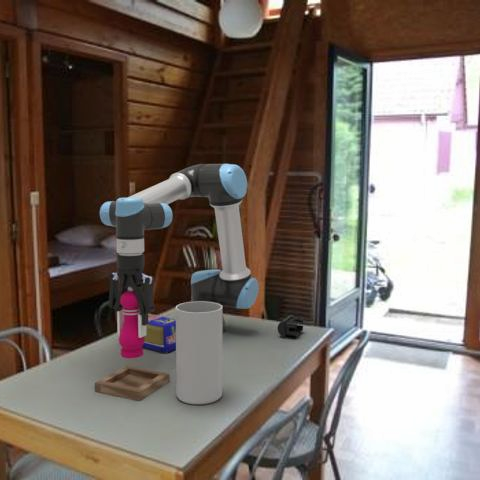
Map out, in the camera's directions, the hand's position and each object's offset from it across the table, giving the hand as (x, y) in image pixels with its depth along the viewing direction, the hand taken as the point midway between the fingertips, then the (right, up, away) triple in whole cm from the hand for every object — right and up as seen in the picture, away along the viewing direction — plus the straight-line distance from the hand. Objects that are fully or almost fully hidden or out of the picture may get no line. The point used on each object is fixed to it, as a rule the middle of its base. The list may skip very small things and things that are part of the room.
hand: (131, 334), depth 154 cm
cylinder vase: (+19, -16, -4) cm, 26 cm away
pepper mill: (0, -6, +1) cm, 6 cm away
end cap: (+49, -9, +52) cm, 72 cm away
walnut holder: (0, -15, +2) cm, 15 cm away
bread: (-1, -11, +40) cm, 41 cm away
